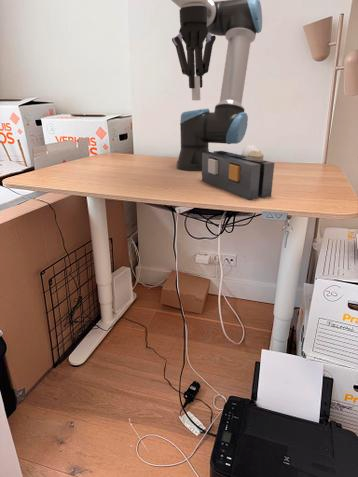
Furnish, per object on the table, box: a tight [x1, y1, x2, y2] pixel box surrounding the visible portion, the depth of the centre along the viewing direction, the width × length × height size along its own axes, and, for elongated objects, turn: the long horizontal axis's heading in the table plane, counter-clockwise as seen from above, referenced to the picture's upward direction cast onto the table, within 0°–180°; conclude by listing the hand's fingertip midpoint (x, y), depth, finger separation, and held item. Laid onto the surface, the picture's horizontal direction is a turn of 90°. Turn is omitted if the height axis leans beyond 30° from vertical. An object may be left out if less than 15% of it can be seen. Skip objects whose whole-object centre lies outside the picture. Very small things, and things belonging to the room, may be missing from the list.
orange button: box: [229, 164, 240, 182], centre depth 102 cm, size 4×4×4 cm
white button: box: [208, 158, 219, 174], centre depth 112 cm, size 4×4×4 cm
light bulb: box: [241, 143, 260, 157], centre depth 130 cm, size 7×7×11 cm
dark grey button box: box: [201, 150, 275, 201], centre depth 108 cm, size 8×28×10 cm, turn 26°
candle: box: [248, 150, 264, 160], centre depth 121 cm, size 6×6×10 cm
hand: (196, 100), depth 102 cm, fingers closed
